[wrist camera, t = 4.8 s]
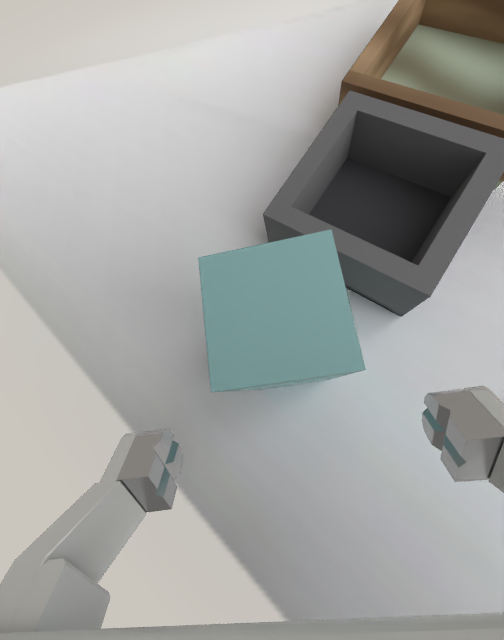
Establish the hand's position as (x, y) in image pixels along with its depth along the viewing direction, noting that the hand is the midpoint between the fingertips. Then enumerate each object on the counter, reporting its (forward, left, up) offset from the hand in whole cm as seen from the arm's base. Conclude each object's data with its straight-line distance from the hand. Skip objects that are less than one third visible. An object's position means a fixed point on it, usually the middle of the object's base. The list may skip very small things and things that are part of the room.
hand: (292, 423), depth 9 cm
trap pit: (-10, -9, -9) cm, 16 cm away
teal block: (-1, -3, -9) cm, 9 cm away
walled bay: (-21, -15, -9) cm, 27 cm away
